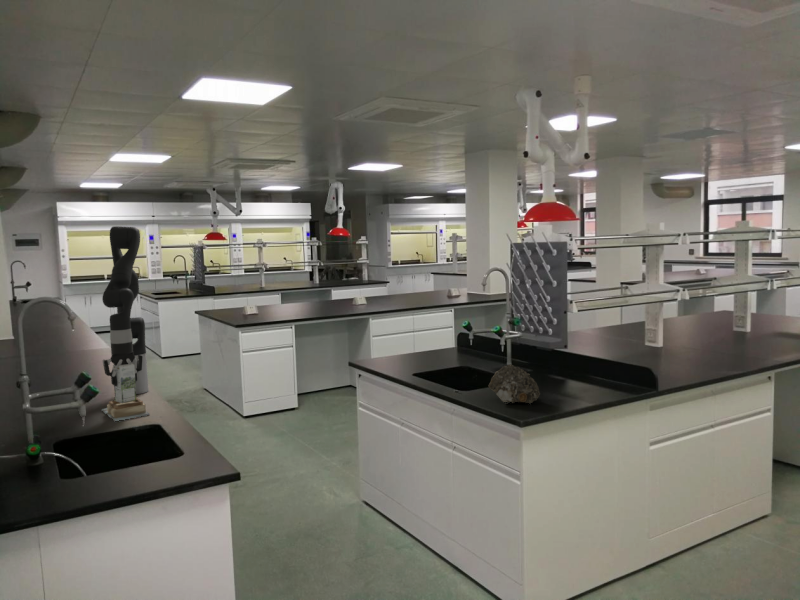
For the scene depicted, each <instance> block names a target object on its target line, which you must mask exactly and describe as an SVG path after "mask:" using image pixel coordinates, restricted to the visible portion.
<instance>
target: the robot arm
mask: <svg viewBox="0 0 800 600" xmlns="http://www.w3.org/2000/svg"><path fill="white" fill-rule="evenodd" d="M109 243H110V249H111V250H110V251H111V254H112V255H111V256H112V262H113V263H112V264H113V266H112V269H111V275H110V280H109V283H108V285H107V286H106V288H105V289H104V291H103V293H102V303H103V305H104V306H105V307H106V308H112V309H114V308H116V313H113V314H111V315H110V316H109V329H110V331H109V333H110V335H109V339H110V353H111V357H110V358H108V359H103V360H102V365H103V366H102V367H103V370H104V371H103V372H104V374H105V375H106V376H108V377H110V380H111V384H112V386H113V387H114V386H117V381H116V376H115V375H116V373H117V371H118V368H117V367H118V365H119V366H120V365H124V364H134V367H135V385H136V395H139V394H145V393H147V392H149V375H148V373H149V372H148V360H147V347H146V346H147V345H146V324H145V320H144V318H143V317H142V316H141V317H140V316H139V317H137V316H136V317H131V313H132V308H133V304H134V301H135V300H136V299H137V296H138V294H139V292H140V288H139V287H140V285H139V284H140V283H139V276H138V274H137V273H136V271H135V269H133V268H134V265H135V261H136V259H137V255H138V252H139V250H140V249H139V248H140V245H141V233H140V230H139V228H138V227H135V226H121V225H120V226H117V225H116V226H112V227H111V228H110V230H109ZM122 250H127V251H126V252H125V253H124V254H123V251H122ZM134 339H137V340H136V341H135V342H133V340H134ZM111 363H112V364H113V365H115V366H116V367H115V368H114V366H113V365H112V370H111V369H110V366H111V365H110V364H111ZM110 370H111V371H110Z"/></svg>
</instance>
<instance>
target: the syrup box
mask: <svg viewBox="0 0 800 600" xmlns="http://www.w3.org/2000/svg"><path fill="white" fill-rule="evenodd" d="M113 366H114V368H115V367H116V366H115V365H114V364H113V365H112V367H113ZM117 368H118V371H117V373H116V375H115V376H116V381H117V386H114V385H113V387H114V390H113V391H114V401H116V402H119V403H126V402H131V401H135V400H136V398H137V394H136V385H135V367H134V364H124V365H120V366H119V365H118V367H117Z"/></svg>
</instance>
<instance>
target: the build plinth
mask: <svg viewBox="0 0 800 600" xmlns="http://www.w3.org/2000/svg"><path fill="white" fill-rule="evenodd" d="M146 409H147V408H146V404H145V403H144V401H143V400H141V399H140V398H138V397H136V400H135V401H131V402H126V403H119V402H116V401H115V400H109V401H108V404H106V408H102V409H101V412H102V411H103V413H104V414H105V415H106V414H107V415H108V416H107V415H106V416H107V417H109V418H110V417H111V418H112V419H113V420H112V419H111V418H110V419H111V420H112V421H114V420H115V421H119V420H124V421H126V420H125V419H129V420H131V419H130V418H134V419H136V418H135V417H139V418H142V417H141V416H144V417H148V416H147V415H149V416H150V412H148V411H147V410H146ZM115 421H114V422H115ZM119 422H120V421H119Z"/></svg>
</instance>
